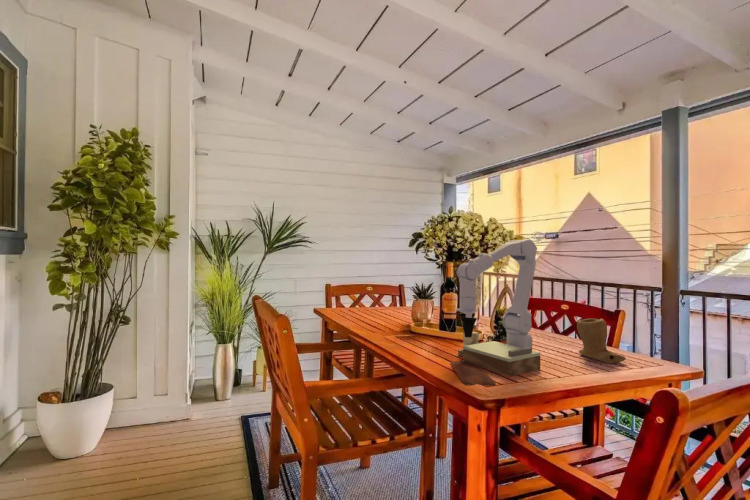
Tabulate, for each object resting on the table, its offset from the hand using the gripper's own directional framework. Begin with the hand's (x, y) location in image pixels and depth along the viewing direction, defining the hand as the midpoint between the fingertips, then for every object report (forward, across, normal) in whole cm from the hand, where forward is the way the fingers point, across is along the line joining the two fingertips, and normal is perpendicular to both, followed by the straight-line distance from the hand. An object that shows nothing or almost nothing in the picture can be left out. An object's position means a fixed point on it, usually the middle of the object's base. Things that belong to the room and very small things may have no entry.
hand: (467, 334), depth 145 cm
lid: (+5, +2, +11) cm, 12 cm away
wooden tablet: (+10, +12, 0) cm, 16 cm away
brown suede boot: (+10, -14, +48) cm, 51 cm away
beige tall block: (+10, -8, +2) cm, 13 cm away
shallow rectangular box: (+10, -1, +9) cm, 13 cm away
